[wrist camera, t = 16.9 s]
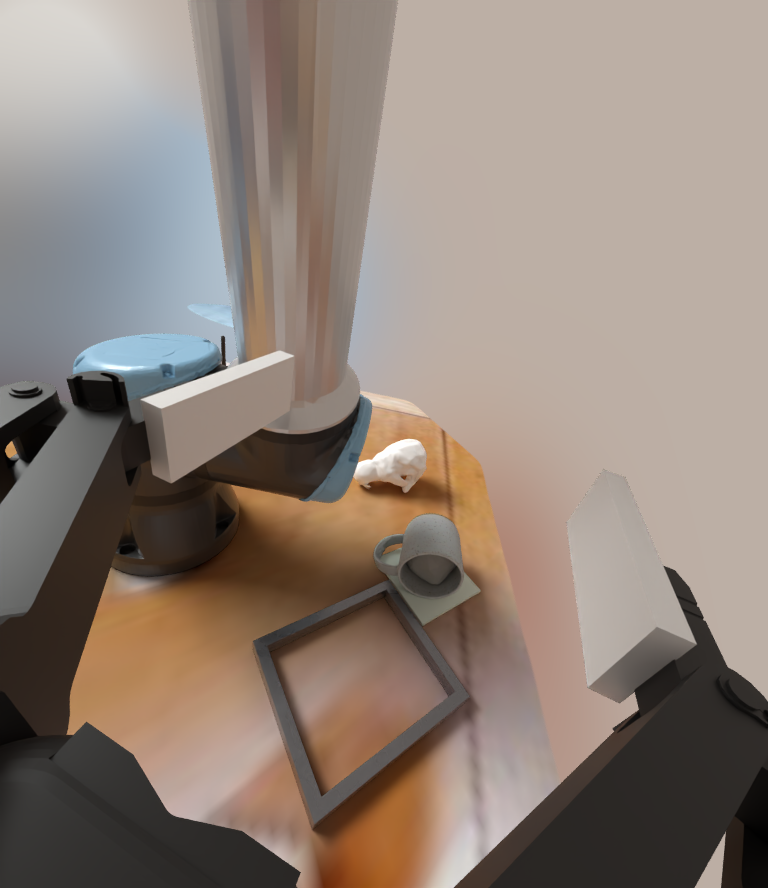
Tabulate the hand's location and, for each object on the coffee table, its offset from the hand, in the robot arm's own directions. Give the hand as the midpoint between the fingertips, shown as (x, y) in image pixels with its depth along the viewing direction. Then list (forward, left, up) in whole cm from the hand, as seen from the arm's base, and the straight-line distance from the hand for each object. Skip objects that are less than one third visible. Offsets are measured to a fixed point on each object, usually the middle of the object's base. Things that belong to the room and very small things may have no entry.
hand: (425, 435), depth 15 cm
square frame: (-2, +4, -30) cm, 30 cm away
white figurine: (-26, +23, -30) cm, 46 cm away
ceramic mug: (-9, +17, -30) cm, 35 cm away
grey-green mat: (-8, +18, -30) cm, 36 cm away
